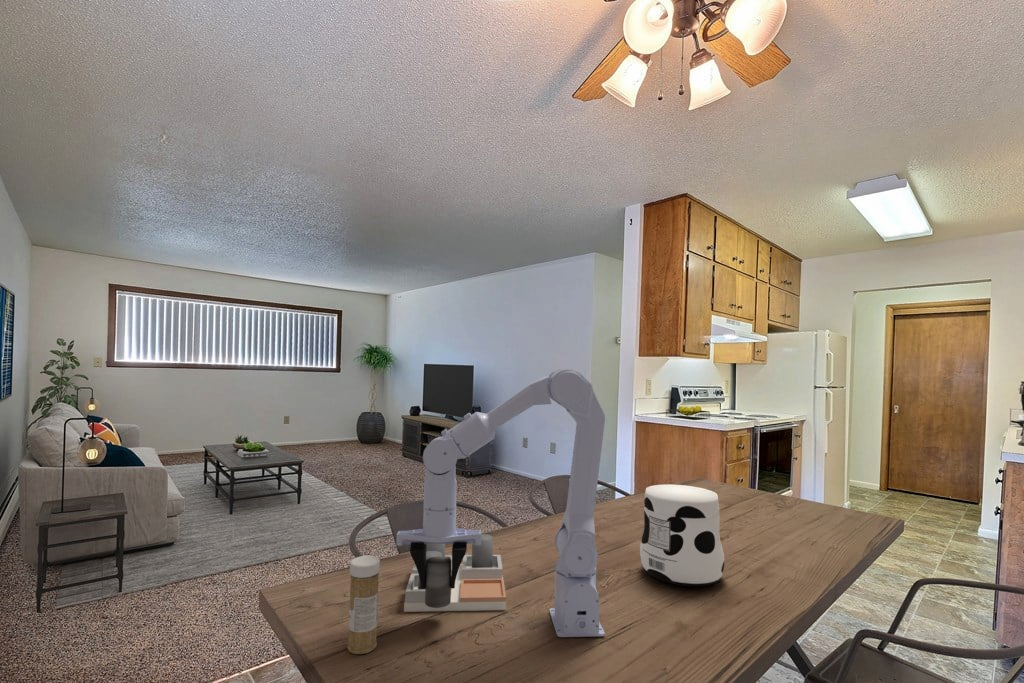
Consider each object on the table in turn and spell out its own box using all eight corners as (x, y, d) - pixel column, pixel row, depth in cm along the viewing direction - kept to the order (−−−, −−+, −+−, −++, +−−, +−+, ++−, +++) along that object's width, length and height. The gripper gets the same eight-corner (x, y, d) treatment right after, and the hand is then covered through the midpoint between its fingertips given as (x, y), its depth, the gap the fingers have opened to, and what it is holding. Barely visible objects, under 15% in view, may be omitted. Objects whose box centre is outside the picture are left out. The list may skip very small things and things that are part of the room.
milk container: (719, 566, 116) (718, 486, 117) (730, 599, 99) (729, 505, 100) (640, 558, 120) (640, 481, 121) (638, 587, 104) (638, 497, 105)
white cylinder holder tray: (505, 610, 93) (506, 562, 93) (403, 611, 91) (405, 563, 92) (500, 570, 111) (501, 531, 111) (415, 571, 110) (416, 531, 110)
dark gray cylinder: (450, 607, 86) (450, 565, 87) (423, 608, 86) (424, 565, 86) (451, 596, 91) (452, 556, 91) (426, 596, 90) (427, 556, 91)
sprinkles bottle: (350, 640, 81) (353, 554, 82) (379, 639, 82) (382, 554, 83) (344, 656, 77) (347, 565, 78) (374, 655, 77) (377, 564, 78)
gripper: (481, 500, 94) (479, 576, 93) (401, 501, 93) (399, 577, 92) (481, 511, 87) (480, 593, 86) (395, 511, 86) (393, 594, 85)
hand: (438, 586), depth 88 cm, fingers closed on dark gray cylinder, 4 cm apart
